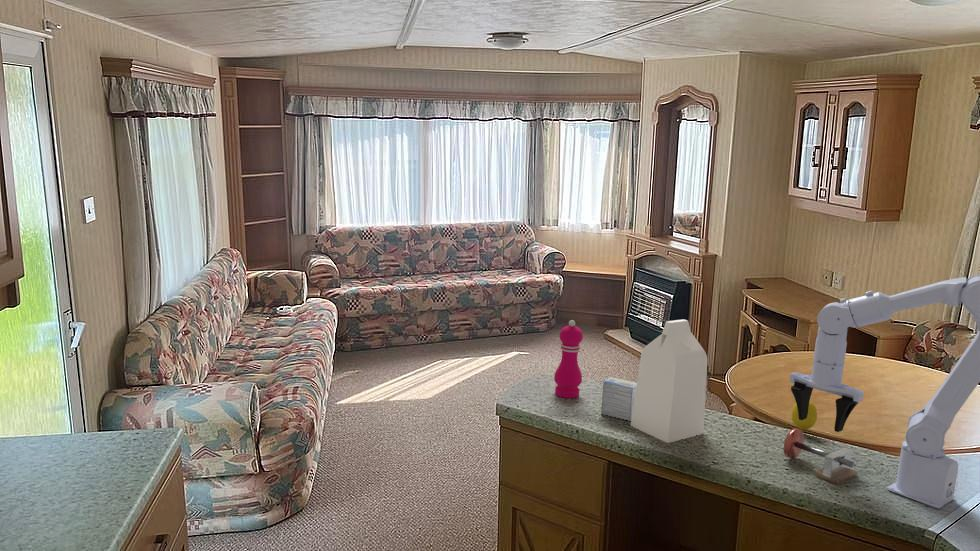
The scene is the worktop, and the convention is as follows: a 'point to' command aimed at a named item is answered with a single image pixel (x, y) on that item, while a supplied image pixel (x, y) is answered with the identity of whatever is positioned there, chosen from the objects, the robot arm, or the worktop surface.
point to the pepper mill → (569, 362)
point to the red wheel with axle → (804, 447)
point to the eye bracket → (836, 467)
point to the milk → (671, 385)
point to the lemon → (806, 422)
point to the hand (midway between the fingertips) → (820, 424)
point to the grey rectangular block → (618, 398)
